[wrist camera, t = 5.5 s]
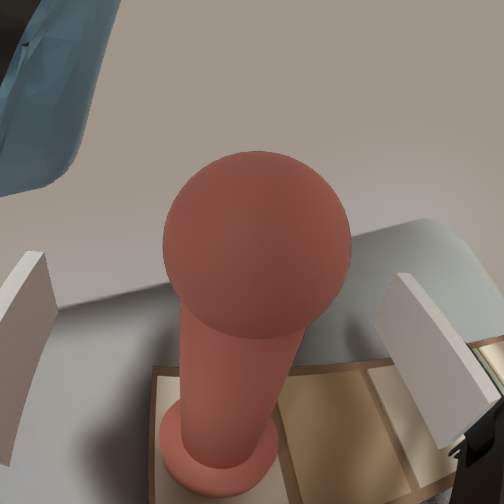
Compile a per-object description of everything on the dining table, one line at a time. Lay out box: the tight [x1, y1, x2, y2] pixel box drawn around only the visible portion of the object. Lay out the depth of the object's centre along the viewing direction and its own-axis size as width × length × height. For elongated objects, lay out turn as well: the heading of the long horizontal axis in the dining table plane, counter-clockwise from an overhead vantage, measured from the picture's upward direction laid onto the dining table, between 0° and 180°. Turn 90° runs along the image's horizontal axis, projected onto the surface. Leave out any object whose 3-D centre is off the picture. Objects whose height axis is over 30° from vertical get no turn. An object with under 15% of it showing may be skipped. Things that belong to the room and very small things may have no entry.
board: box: [148, 335, 504, 504], centre depth 14 cm, size 30×10×1 cm, turn 98°
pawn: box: [159, 151, 351, 498], centre depth 9 cm, size 5×5×12 cm
